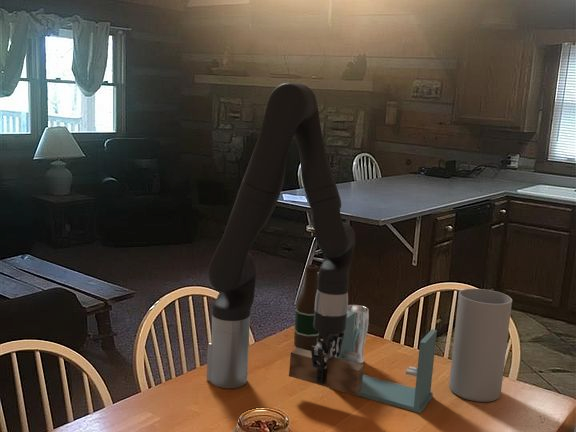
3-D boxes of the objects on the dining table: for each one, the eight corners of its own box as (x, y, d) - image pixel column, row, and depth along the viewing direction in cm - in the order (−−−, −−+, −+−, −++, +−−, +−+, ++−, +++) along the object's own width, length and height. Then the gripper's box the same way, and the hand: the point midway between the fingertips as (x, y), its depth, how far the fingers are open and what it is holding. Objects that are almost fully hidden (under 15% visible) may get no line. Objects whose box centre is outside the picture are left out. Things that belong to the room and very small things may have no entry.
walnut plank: (288, 376, 148) (290, 352, 147) (295, 370, 151) (297, 347, 150) (355, 395, 141) (358, 370, 140) (361, 389, 144) (363, 365, 143)
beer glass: (338, 363, 170) (341, 310, 167) (342, 354, 176) (345, 303, 174) (363, 367, 168) (367, 314, 165) (366, 357, 175) (370, 306, 172)
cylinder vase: (485, 408, 148) (497, 307, 144) (439, 390, 157) (449, 294, 152) (509, 393, 157) (520, 297, 153) (463, 376, 166) (473, 285, 161)
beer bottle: (308, 339, 186) (313, 261, 182) (326, 347, 180) (331, 267, 176) (288, 344, 181) (292, 264, 177) (305, 353, 175) (311, 270, 171)
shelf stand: (327, 387, 155) (332, 321, 152) (343, 373, 164) (348, 311, 161) (420, 413, 144) (427, 343, 141) (432, 396, 153) (439, 330, 150)
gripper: (328, 298, 151) (323, 365, 154) (302, 313, 138) (296, 386, 141) (357, 304, 147) (351, 373, 150) (333, 321, 135) (327, 395, 138)
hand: (325, 379), depth 146 cm, fingers closed on walnut plank, 3 cm apart
